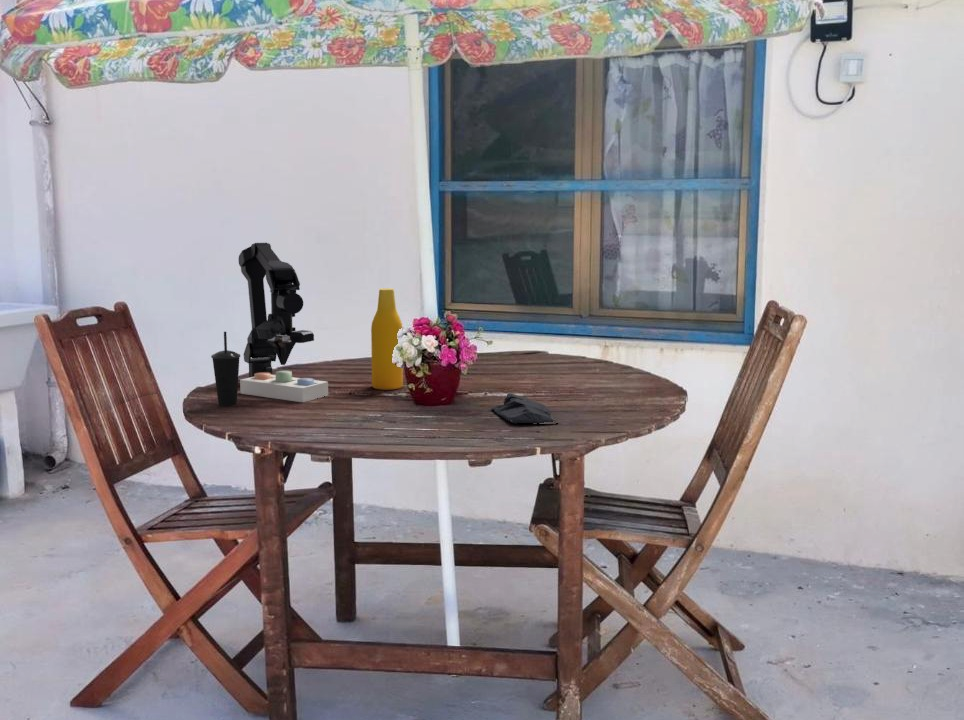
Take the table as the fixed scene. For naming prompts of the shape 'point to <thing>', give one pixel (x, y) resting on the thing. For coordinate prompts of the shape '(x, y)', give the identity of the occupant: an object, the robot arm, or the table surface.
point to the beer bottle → (385, 343)
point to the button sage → (283, 376)
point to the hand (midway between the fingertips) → (283, 364)
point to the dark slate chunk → (522, 410)
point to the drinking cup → (226, 375)
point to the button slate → (305, 381)
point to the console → (283, 389)
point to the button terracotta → (262, 376)
